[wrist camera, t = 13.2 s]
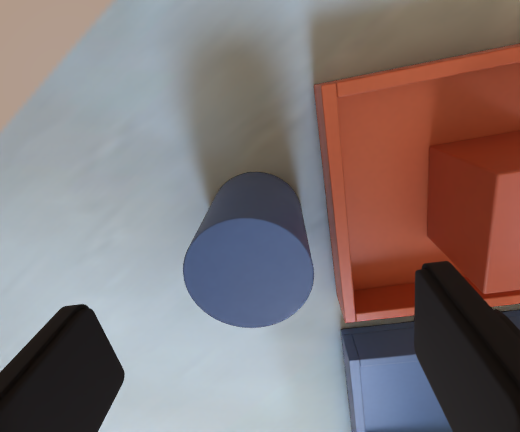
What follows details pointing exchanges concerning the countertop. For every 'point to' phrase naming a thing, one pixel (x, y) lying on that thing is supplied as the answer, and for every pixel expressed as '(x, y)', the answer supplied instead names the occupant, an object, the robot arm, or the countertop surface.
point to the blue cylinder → (251, 254)
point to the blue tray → (391, 380)
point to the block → (478, 208)
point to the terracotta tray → (402, 168)
